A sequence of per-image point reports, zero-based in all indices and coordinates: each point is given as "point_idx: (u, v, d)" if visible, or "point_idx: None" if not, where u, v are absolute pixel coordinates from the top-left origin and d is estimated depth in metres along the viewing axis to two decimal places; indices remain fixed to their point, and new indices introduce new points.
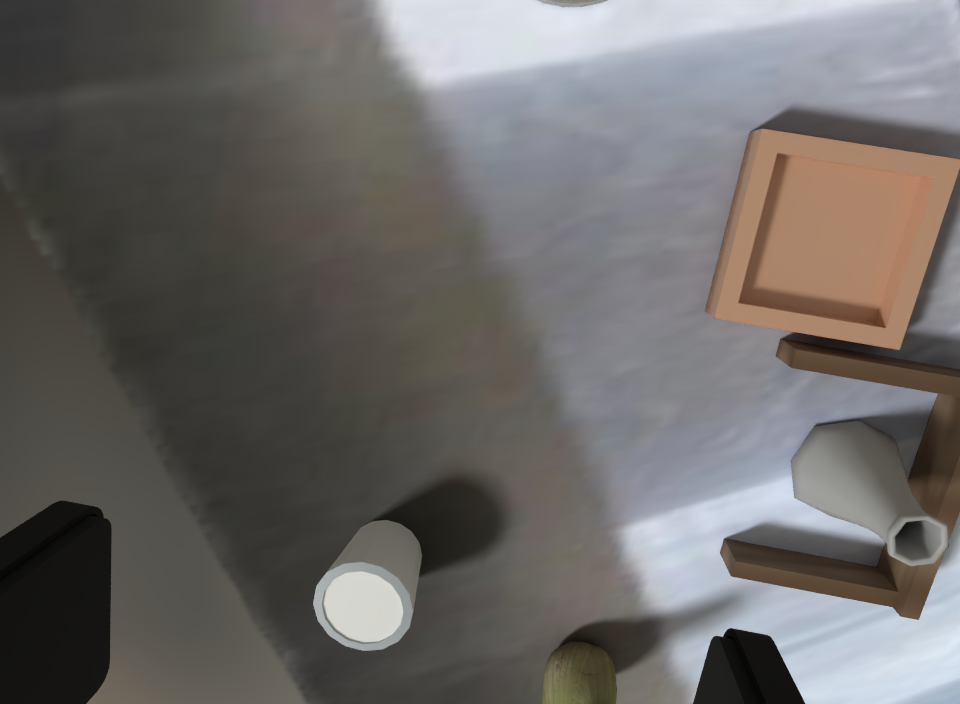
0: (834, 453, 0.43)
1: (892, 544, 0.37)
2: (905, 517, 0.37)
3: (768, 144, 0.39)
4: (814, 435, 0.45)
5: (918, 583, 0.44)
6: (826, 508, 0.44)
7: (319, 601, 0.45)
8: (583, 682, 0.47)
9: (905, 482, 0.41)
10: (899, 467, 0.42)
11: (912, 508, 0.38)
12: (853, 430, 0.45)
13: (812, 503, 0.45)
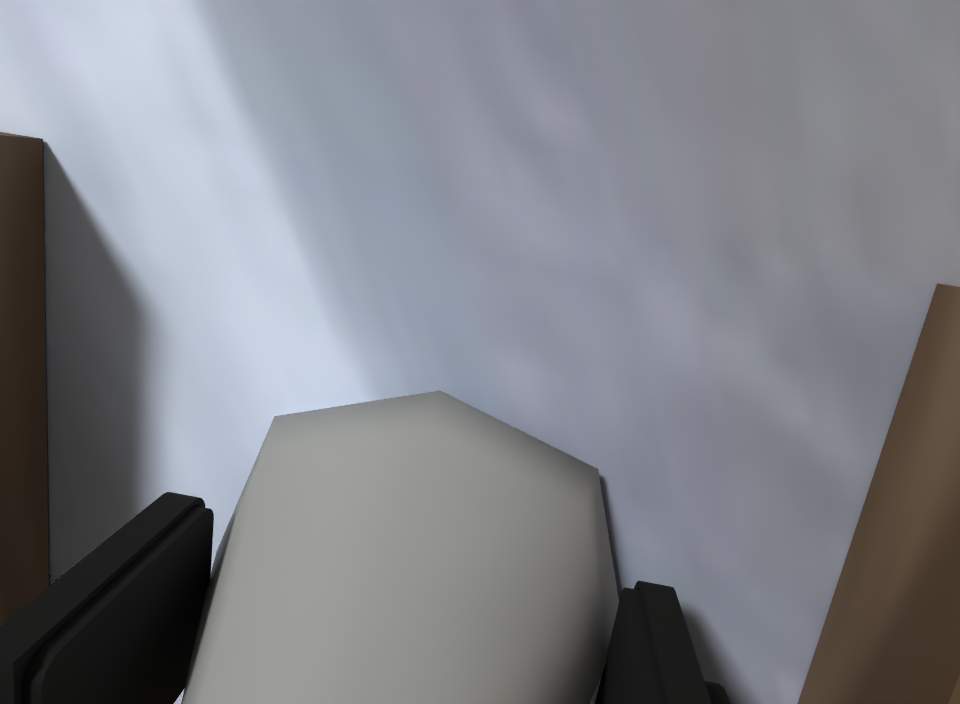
0: (537, 579, 0.09)
1: None
2: None
3: None
4: (568, 474, 0.10)
5: None
6: (243, 568, 0.08)
7: None
8: None
9: None
10: None
11: None
12: (604, 621, 0.10)
13: (260, 494, 0.09)
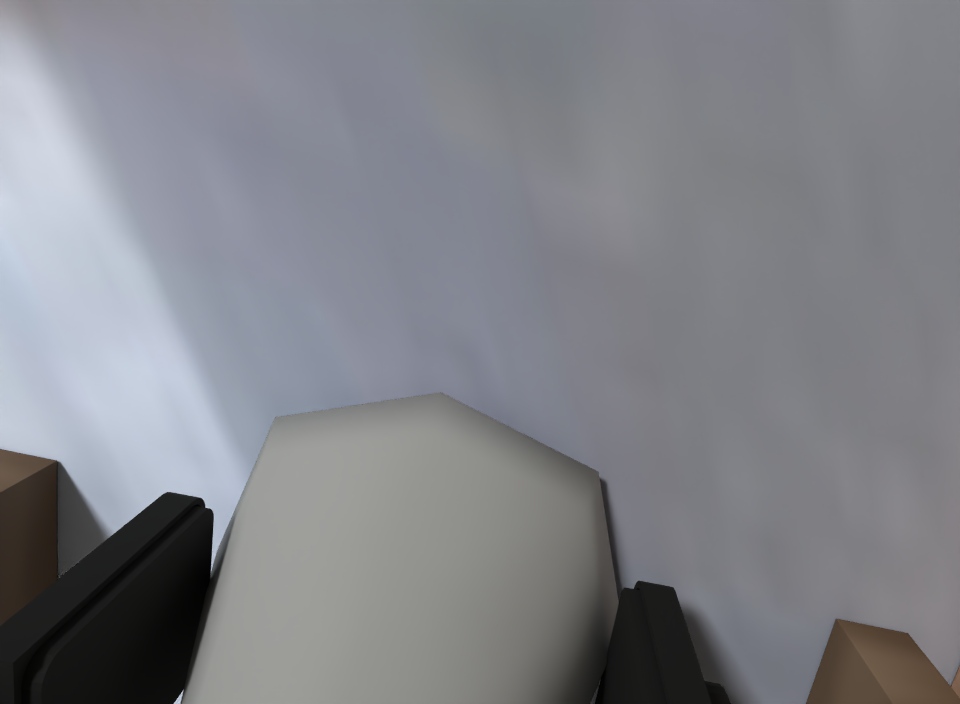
0: (536, 582, 0.09)
1: None
2: None
3: None
4: (568, 477, 0.10)
5: None
6: (243, 570, 0.08)
7: None
8: None
9: None
10: None
11: None
12: (604, 624, 0.10)
13: (260, 495, 0.09)
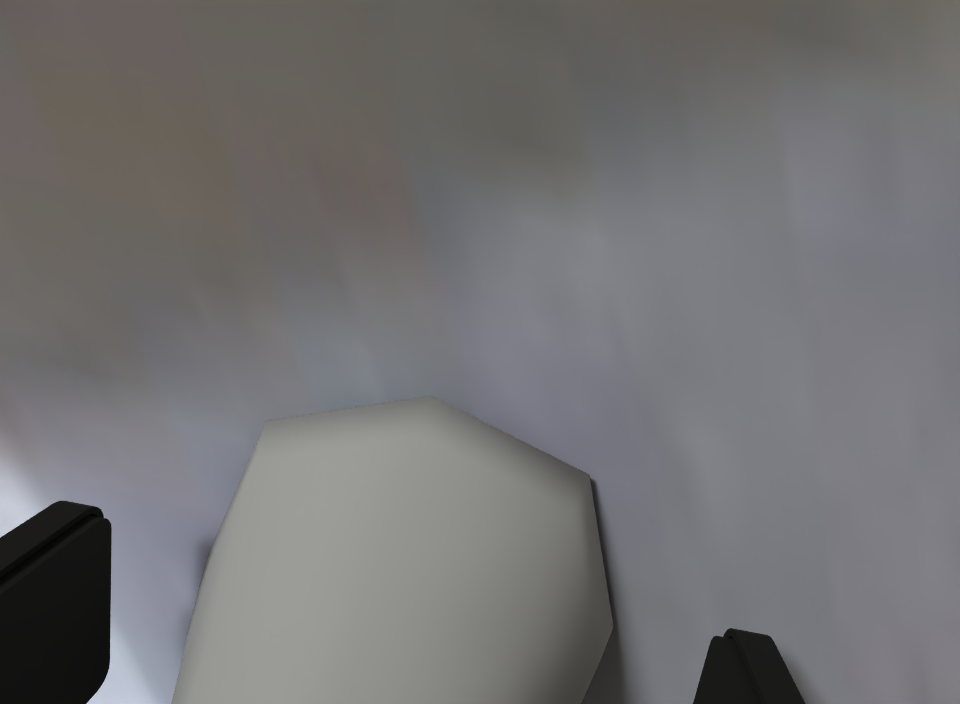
0: (525, 586, 0.09)
1: None
2: None
3: None
4: (559, 480, 0.10)
5: None
6: (232, 575, 0.08)
7: None
8: None
9: None
10: None
11: None
12: (595, 627, 0.10)
13: (250, 500, 0.09)
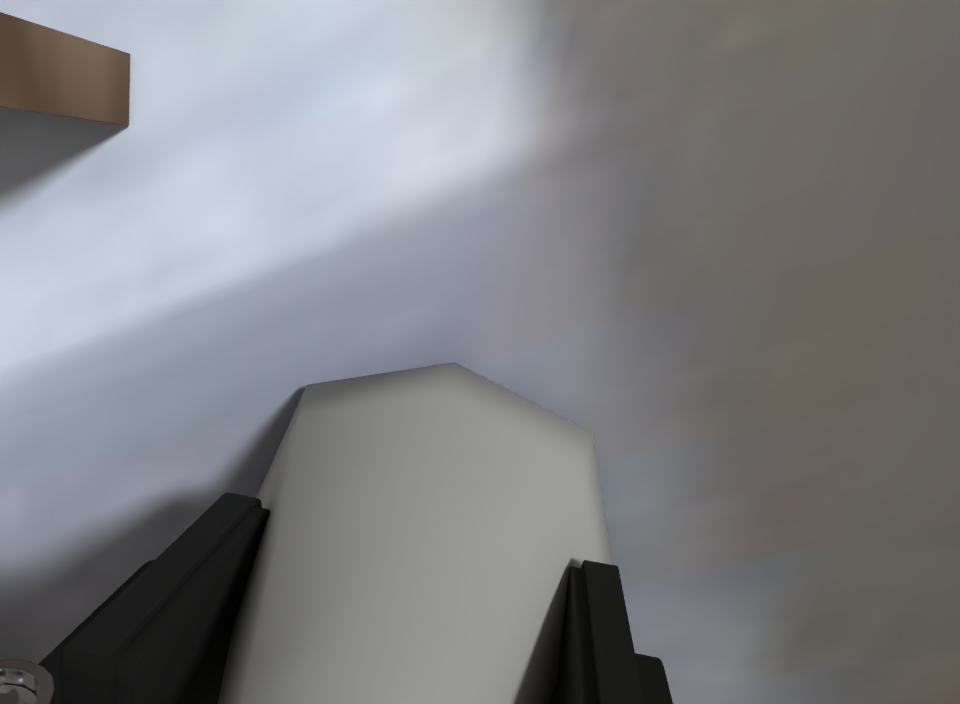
0: None
1: None
2: None
3: None
4: None
5: None
6: (542, 558, 0.10)
7: None
8: None
9: None
10: None
11: None
12: None
13: (567, 501, 0.11)
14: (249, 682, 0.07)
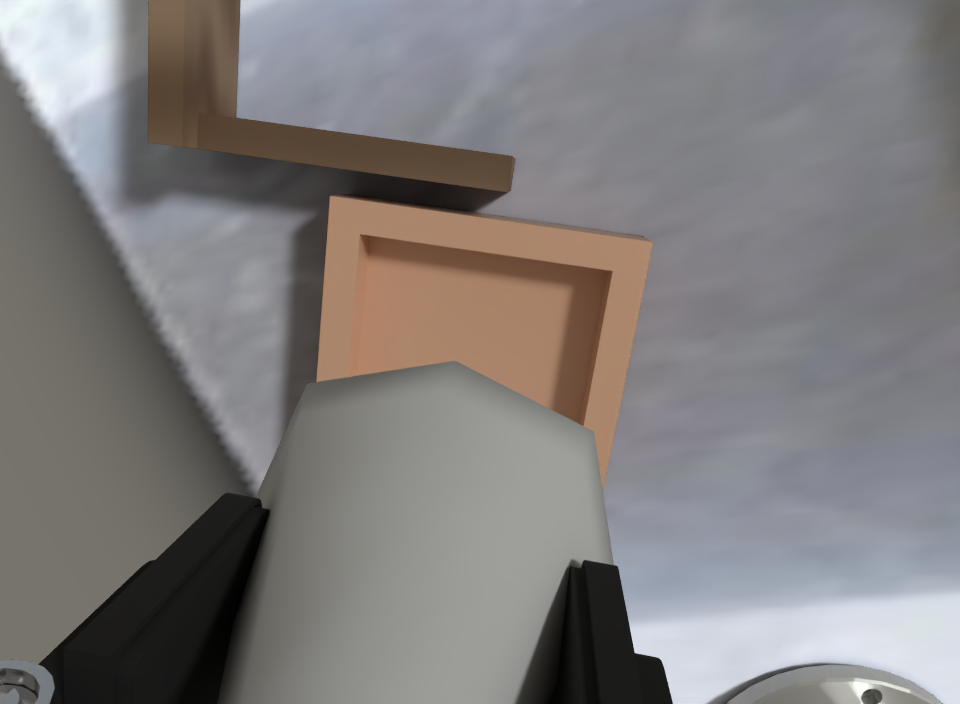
0: None
1: None
2: None
3: None
4: None
5: None
6: (543, 556, 0.10)
7: None
8: None
9: None
10: None
11: None
12: None
13: (568, 499, 0.11)
14: (249, 680, 0.07)
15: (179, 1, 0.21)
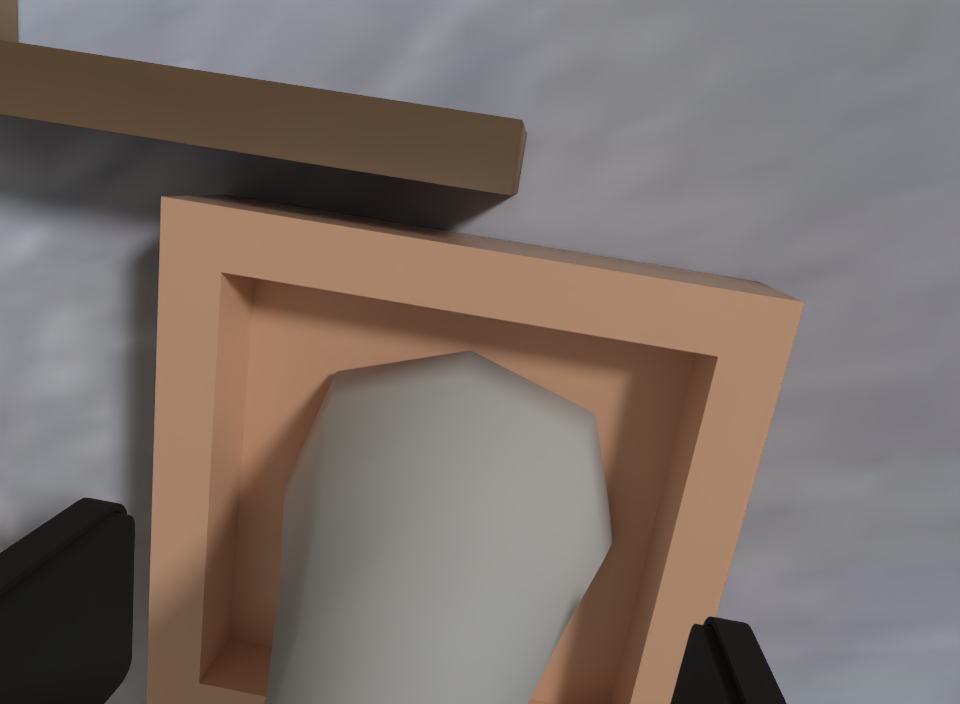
0: None
1: None
2: None
3: None
4: None
5: None
6: (551, 518, 0.11)
7: None
8: None
9: None
10: None
11: None
12: None
13: (572, 471, 0.12)
14: (306, 613, 0.09)
15: None
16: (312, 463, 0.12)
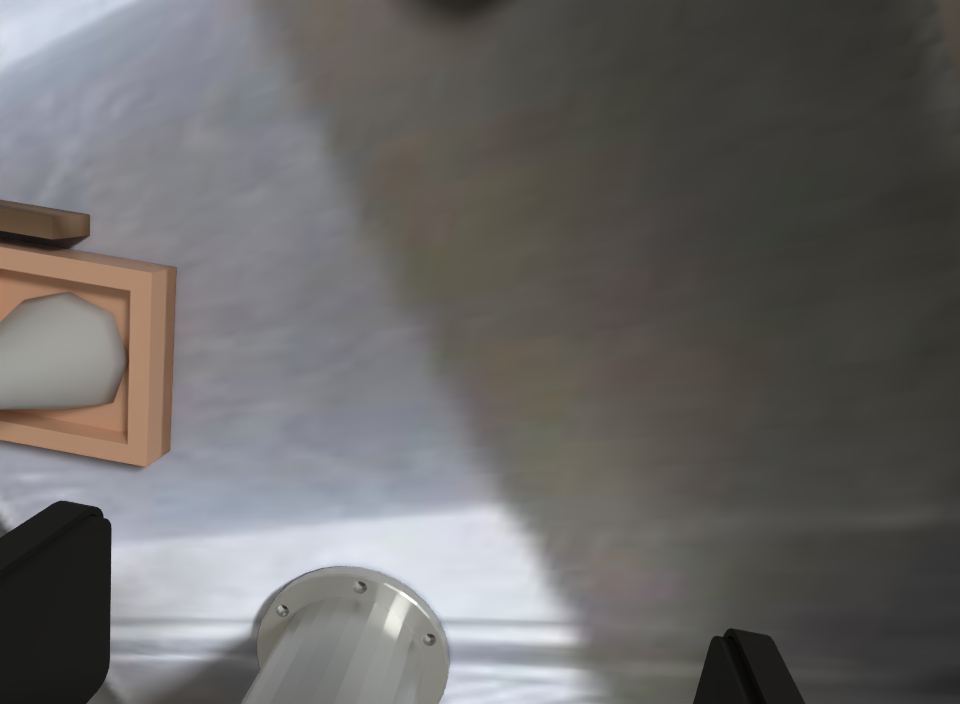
0: (75, 400, 0.37)
1: None
2: None
3: (137, 452, 0.39)
4: (109, 396, 0.39)
5: None
6: (63, 338, 0.36)
7: None
8: None
9: None
10: None
11: None
12: (69, 408, 0.39)
13: (85, 328, 0.37)
14: None
15: None
16: None
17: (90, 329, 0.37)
